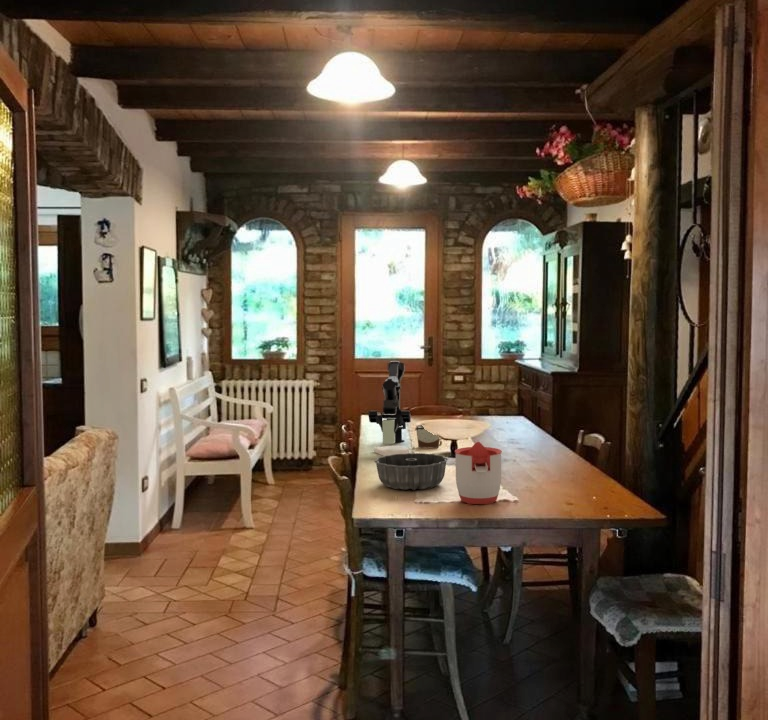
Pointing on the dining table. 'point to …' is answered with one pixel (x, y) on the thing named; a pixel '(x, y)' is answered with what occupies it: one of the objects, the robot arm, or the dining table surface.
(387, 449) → the plate
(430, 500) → the dining table surface
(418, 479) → the bundt pan
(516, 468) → the dining table surface
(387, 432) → the sage block
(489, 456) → the citrus juicer
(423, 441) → the food container
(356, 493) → the dining table surface
